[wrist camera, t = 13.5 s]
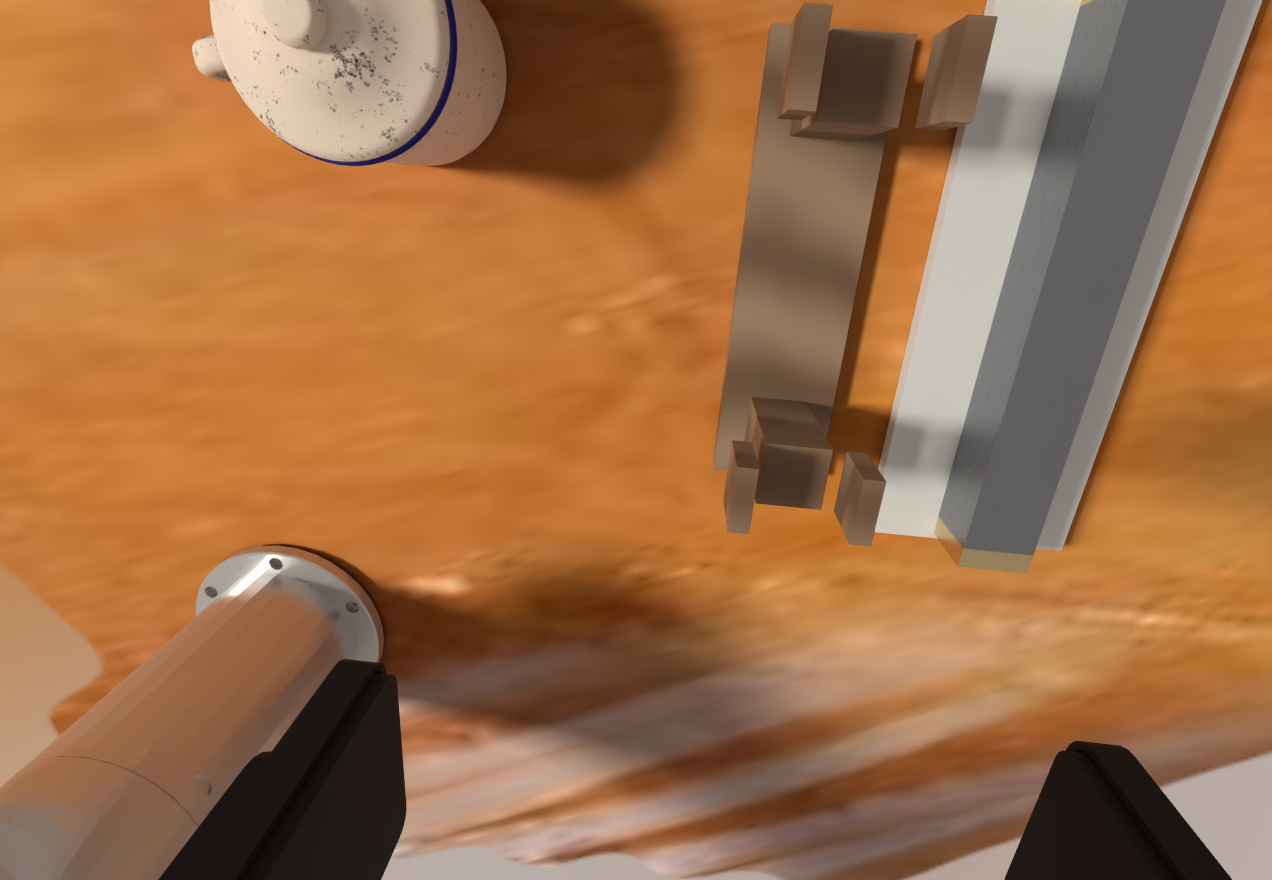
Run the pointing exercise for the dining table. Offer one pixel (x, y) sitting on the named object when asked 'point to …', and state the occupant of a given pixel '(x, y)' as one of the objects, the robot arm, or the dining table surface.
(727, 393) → the rack
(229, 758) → the robot arm
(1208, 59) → the mat
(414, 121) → the teacup with lid
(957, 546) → the rail
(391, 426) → the dining table surface
